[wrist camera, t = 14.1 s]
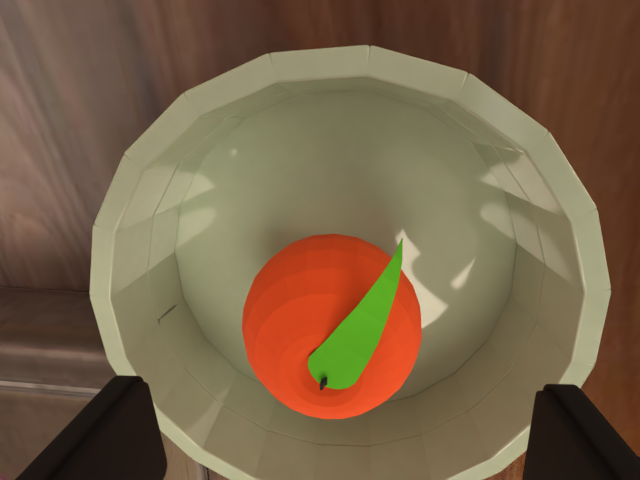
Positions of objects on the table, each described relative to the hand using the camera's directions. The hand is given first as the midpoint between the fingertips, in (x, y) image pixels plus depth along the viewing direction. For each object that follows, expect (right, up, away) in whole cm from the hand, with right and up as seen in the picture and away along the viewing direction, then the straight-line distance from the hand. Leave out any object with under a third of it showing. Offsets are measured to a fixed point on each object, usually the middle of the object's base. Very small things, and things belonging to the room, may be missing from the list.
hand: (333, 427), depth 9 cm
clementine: (+1, +3, +9) cm, 9 cm away
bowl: (+1, +3, +9) cm, 10 cm away
